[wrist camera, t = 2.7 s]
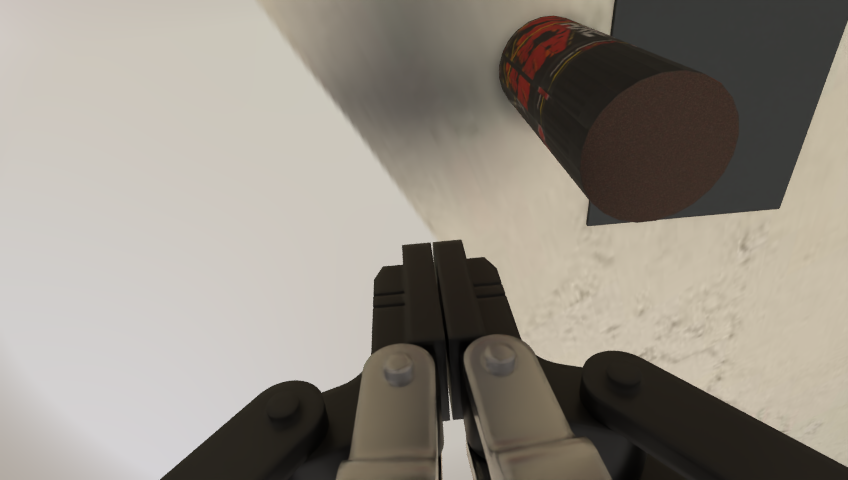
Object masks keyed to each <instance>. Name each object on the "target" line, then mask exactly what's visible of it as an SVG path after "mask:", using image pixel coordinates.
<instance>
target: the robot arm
mask: <svg viewBox="0 0 848 480" xmlns="http://www.w3.org/2000/svg"><path fill="white" fill-rule="evenodd" d="M402 250H403V265H395V266H384V267H382V269H381V270H380V272H379V273H378V275H377V276H376V278H375V279H374V297H373V307H374V308H373V324H372V352H371V356H370V357H369V359H368V360H367V361H366V363H365V365H364V368H363V371H362V372H361V373H360V374H359V375H358V376H357V377H356V378H354V379H353V380H351V381H350V382H348V383H346V384H344V385H341V386H339V387H336V388H333V389H330V390H328V391H325V392H322V393H321V391H320V390H319V389H318V388H317V387H315V386H314V385H313V384H311V383H308V382H304V381H286V382H282V383H279V384H276V385H274V386H272V387H270V388H268V389H266V390H265V391H263V392H262V393H261V394H259V395H258V396H257V397H256V398H255V399H254V400H252V401H251V402H250V403H249V404H248V405H246V406H245V407H244V408H243V409H242V410H241V411H239V412H238V413H237V414H236V415H235V416H234V417H232V418H231V419H230V420H229V421H228V422H227V423H226V424H224V425H223V426H222V427H221V428H220V429H219V430H218V431H216V432H215V433H214V434H213V435H211V436H210V437H209V438H208V439H207V440H206V441H204V442H203V443H202V444H201V445H200V446H199V447H198V448H196V449H195V450H194V451H193V452H192V453H190V454H189V455H188V456H187V457H186V458H185V459H183V460H182V461H181V462H180V463H179V464H178V465H176V466H175V467H174V468H173V469H172V470H171V471H169V472H168V473H167V474H166V475H165V476H164V477H162V478H161V479H160V480H442V449H443V445H444V436H443V421H448V420H450V414H449V397H448V388H449V395H450V402H451V409H452V416H453V420H456V419H464V425H465V431H466V448H467V456H468V460H469V464H470V468H471V472H472V476H473V480H848V467H846V466H844V465H842V464H840V463H838V462H837V461H835V460H833V459H831V458H829V457H827V456H825V455H823V454H821V453H820V452H818V451H816V450H814V449H812V448H810V447H808V446H806V445H804V444H803V443H801V442H799V441H797V440H795V439H793V438H791V437H789V436H788V435H786V434H784V433H782V432H780V431H778V430H776V429H774V428H772V427H771V426H769V425H767V424H765V423H763V422H761V421H759V420H757V419H755V418H754V417H752V416H750V415H748V414H746V413H744V412H742V411H740V410H738V409H737V408H735V407H733V406H731V405H729V404H727V403H725V402H723V401H722V400H720V399H718V398H716V397H714V396H712V395H710V394H708V393H706V392H705V391H703V390H701V389H699V388H697V387H695V386H693V385H691V384H689V383H688V382H686V381H684V380H682V379H680V378H678V377H676V376H674V375H672V374H671V373H669V372H667V371H665V370H663V369H661V368H659V367H657V366H656V365H654V364H652V363H650V362H648V361H646V360H644V359H642V358H640V357H638V356H636V355H633V354H630V353H626V352H621V351H604V352H600V353H597V354H595V355H593V356H591V357H590V358H589V359H588V360H587V361H586V362H585V364H584V366H583V368H582V367H576V366H569V365H563V364H557V363H553V362H550V361H547V360H544V359H542V358H540V357H538V356H537V355H535V353H534V351H533V350H532V349H531V347H530V346H529V345H527V344H526V343H525V342H523V341H522V340H521V337H520V335H519V332H518V329H517V326H516V323H515V320H514V317H513V314H512V311H511V309H510V306H509V303H508V300H507V297H506V296H505V291H504V288H503V285H502V284H501V280H500V277H499V274H498V271H497V268H496V267H495V266H493V265H492V264H491V263H490V262H489V261H488V260H487V259H486V258H485V257H480V258H470V259H466V255H465V251H464V247H463V243H462V240H452V241H441V242H433V255H434V262H433V255H432V250H431V243H420V244H409V245H402Z"/></svg>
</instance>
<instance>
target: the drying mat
mask: <svg viewBox="0 0 848 480" xmlns="http://www.w3.org/2000/svg"><path fill="white" fill-rule="evenodd" d="M847 21H848V0H615V6H614V13H613V21H612V29H611V36H612V37H614V38H617V39H619V40H622V41H624V42H627V43H629V44H632V45H634V46H637V47H639V48H642V49H644V50H647V51H649V52H652V53H654V54H657V55H659V56H662V57H664V58H667V59H669V60H672V61H674V62H677V63H679V64H682V65H684V66H687V67H689V68H692V69H694V70H697V71H699V72H702V73H704V74H706V75H708V76H710V77H711V78H713V79H715V80H717V81H718V82H720V83H722V85H723V86H724V87H725V88H726V90H727V91H728V92H729V93H730V94H731V96H732V97H733V99H734V102H735V105H736V108H737V111H738V114H739V137H738V140H737V144H736V148H735V152H734V155H733V157H732V159H731V161H730V162H729V164H728V166H727V168H726V170H725V172H724V173H723V175H722V176H721V177H720V178H719V180H718V181H717V182H716V183H715V185H714V186H713V187H712V188H711V189H710V190H709V191H708V192H707V193H706V194H705V195H703V196H702V197H701V198H700V199H699V200H697V201H696V202H695V203H694V204H692V205H690V206H689V207H687V208H685V209H683V210H682V211H680V212H678V213H676V214H674V215H671V216H668V217H665V218H662V219H672V218H683V217H694V216H705V215H715V214H726V213H737V212H748V211H759V210H770V209H779V208H780V206H781V203H782V200H783V197H784V195H785V192H786V189H787V186H788V184H789V181H790V178H791V175H792V173H793V170H794V167H795V164H796V162H797V159H798V156H799V153H800V151H801V148H802V145H803V142H804V140H805V137H806V134H807V131H808V128H809V126H810V123H811V120H812V117H813V115H814V112H815V109H816V106H817V104H818V101H819V98H820V95H821V93H822V90H823V87H824V84H825V82H826V79H827V76H828V73H829V71H830V68H831V65H832V62H833V60H834V57H835V54H836V51H837V49H838V46H839V43H840V40H841V37H842V35H843V32H844V29H845V26H846V24H847ZM659 220H661V219H659ZM628 222H629V221H621V220H618V219H615V218H613V217H611V216H608V215H606V214H604V213H603V212H602V211H600V210H599V209H598V208H597V207H596V206H595V205H593V204H592V203H591V202H590V201H589V208H588V216H587V226H595V225H606V224H617V223H628Z"/></svg>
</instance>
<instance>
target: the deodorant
mask: <svg viewBox="0 0 848 480" xmlns="http://www.w3.org/2000/svg"><path fill="white" fill-rule="evenodd" d="M499 78H500V82H501V85H502V89H503V91H504V93H505V94H506V96H507V98H508V99H509V100H510V102H511V103H512V104H513V105H514V107H515V108H516V109H517V110H518V112H519V113H520V114H521V115H522V117H523V118H524V119H525V120H526V122H527V123H528V124H529V125H530V127H531V128H532V129H533V130H534V132H535V133H536V134H537V135H538V137H539V138H540V139H541V140H542V142H543V143H544V144H545V145H546V147H547V148H548V149H549V150H550V152H551V153H552V154H553V155H554V157H555V158H556V159H557V160H558V162H559V163H560V164H561V165H562V167H563V168H564V169H565V170H566V172H567V173H568V174H569V175H570V177H571V178H572V179H573V180H574V182H575V183H576V184H577V185H578V187H579V188H580V189H581V190H582V192H583V193H584V194H585V195H586V197H587V198H588V199H589V200H590V202H591V203H592V204H593V205H595V206H596V207H597V208H598V209H599V210H600V211H602V212H603V213H604V214H606V215H608V216H611V217H613V218H615V219H618V220H621V221H629V222H637V223H638V222H647V221H656V220H659V219H662V218H665V217H668V216H671V215H674V214H676V213H678V212H680V211H682V210H683V209H685V208H687V207H689V206H690V205H692V204H694V203H695V202H696V201H697V200H699V199H700V198H701V197H702V196H703V195H705V194H706V193H707V192H708V191H709V190H710V189H711V188H712V187H713V186H714V185H715V183H716V182H717V181H718V180H719V178H720V177H721V176H722V175H723V173H724V172H725V170H726V168H727V166H728V164H729V162H730V161H731V159H732V157H733V155H734V152H735V148H736V144H737V140H738V137H739V114H738V111H737V108H736V105H735V102H734V99H733V97H732V96H731V94H730V93H729V92H728V91H727V90H726V88H725V87H724V86H723V85H722V83H720V82H718V81H717V80H715V79H713V78H711V77H710V76H708V75H706V74H704V73H702V72H699V71H697V70H694V69H692V68H689V67H687V66H684V65H682V64H679V63H677V62H674V61H672V60H669V59H667V58H664V57H662V56H659V55H657V54H654V53H652V52H649V51H647V50H644V49H642V48H639V47H637V46H634V45H632V44H629V43H627V42H624V41H622V40H619V39H617V38H614V37H612V36H609V35H607V34H604V33H602V32H599V31H597V30H594V29H592V28H589V27H587V26H584V25H582V24H579V23H577V22H574V21H572V20H569V19H567V18H562V17H557V16H548V17H540V18H538V19H535V20H533V21H530V22H528V23H527V24H525V25H524V26H523V27H521V28H520V29H518V30H517V31H516V33H515V34H514V35H513V36H512V37H511V39H510V40H509V41H508V43H507V45H506V47H505V49H504V51H503V53H502V57H501V61H500V65H499Z"/></svg>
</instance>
